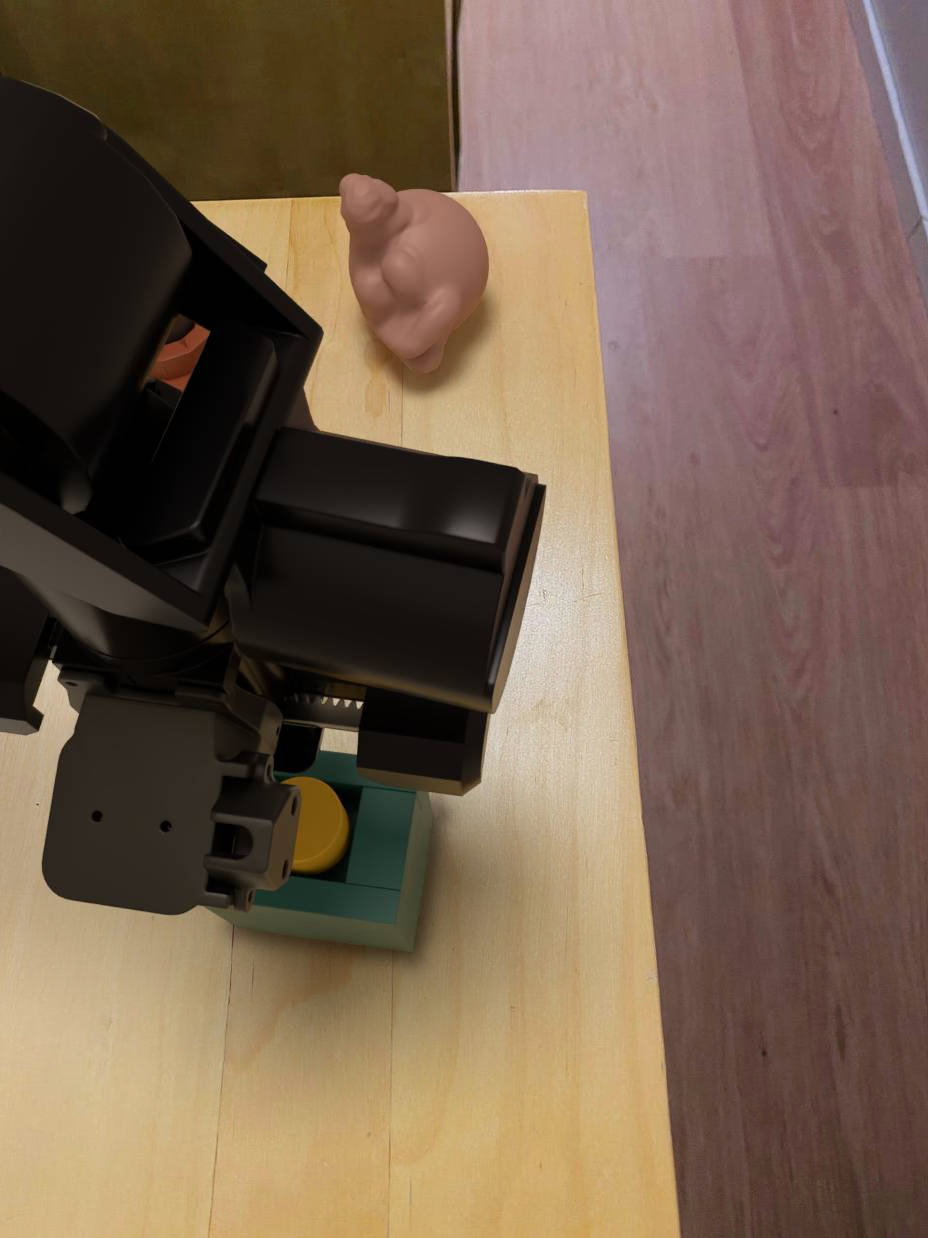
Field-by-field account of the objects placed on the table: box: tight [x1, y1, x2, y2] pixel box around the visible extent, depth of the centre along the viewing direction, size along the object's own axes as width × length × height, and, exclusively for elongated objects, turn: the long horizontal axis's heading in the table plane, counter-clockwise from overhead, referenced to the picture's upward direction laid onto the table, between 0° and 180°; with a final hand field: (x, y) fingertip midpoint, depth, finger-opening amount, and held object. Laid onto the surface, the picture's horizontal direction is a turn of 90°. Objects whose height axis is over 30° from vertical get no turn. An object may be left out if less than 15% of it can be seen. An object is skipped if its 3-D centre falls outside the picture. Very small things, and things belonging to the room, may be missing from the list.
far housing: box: [149, 323, 210, 392], centre depth 65 cm, size 10×8×4 cm
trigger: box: [281, 777, 351, 875], centre depth 43 cm, size 4×4×3 cm
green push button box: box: [202, 749, 435, 953], centre depth 47 cm, size 9×7×10 cm
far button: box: [164, 314, 194, 345], centre depth 62 cm, size 4×4×2 cm
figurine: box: [338, 173, 490, 374], centre depth 61 cm, size 9×11×12 cm
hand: (267, 741), depth 41 cm, fingers closed
